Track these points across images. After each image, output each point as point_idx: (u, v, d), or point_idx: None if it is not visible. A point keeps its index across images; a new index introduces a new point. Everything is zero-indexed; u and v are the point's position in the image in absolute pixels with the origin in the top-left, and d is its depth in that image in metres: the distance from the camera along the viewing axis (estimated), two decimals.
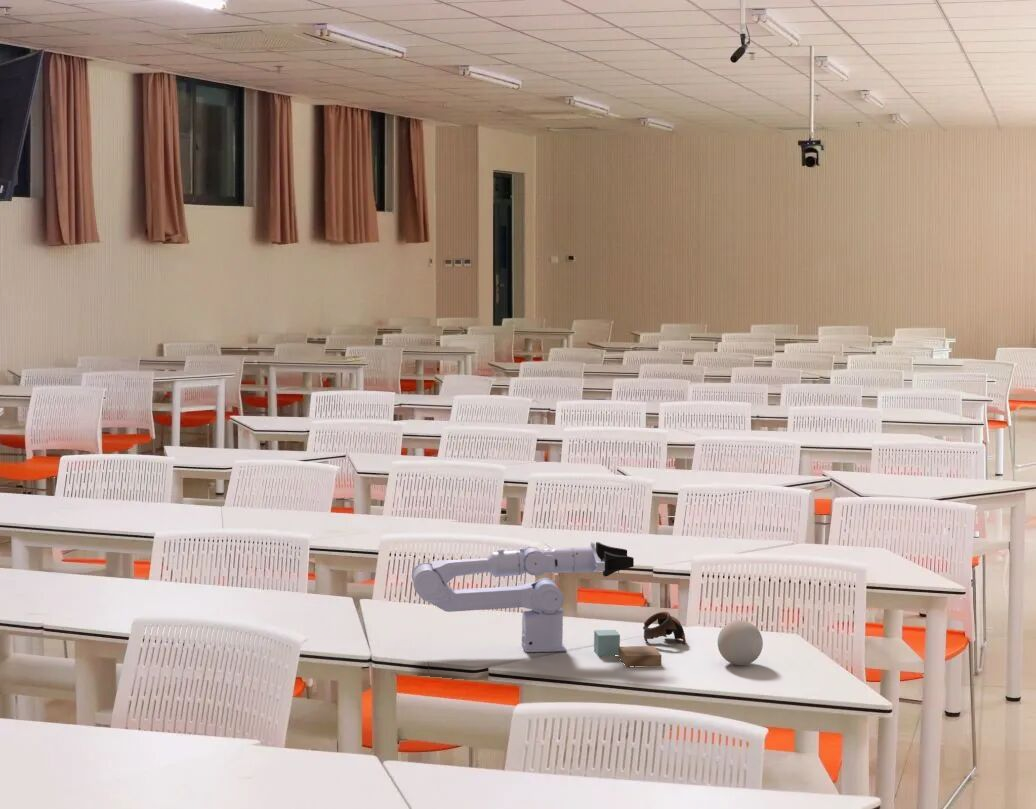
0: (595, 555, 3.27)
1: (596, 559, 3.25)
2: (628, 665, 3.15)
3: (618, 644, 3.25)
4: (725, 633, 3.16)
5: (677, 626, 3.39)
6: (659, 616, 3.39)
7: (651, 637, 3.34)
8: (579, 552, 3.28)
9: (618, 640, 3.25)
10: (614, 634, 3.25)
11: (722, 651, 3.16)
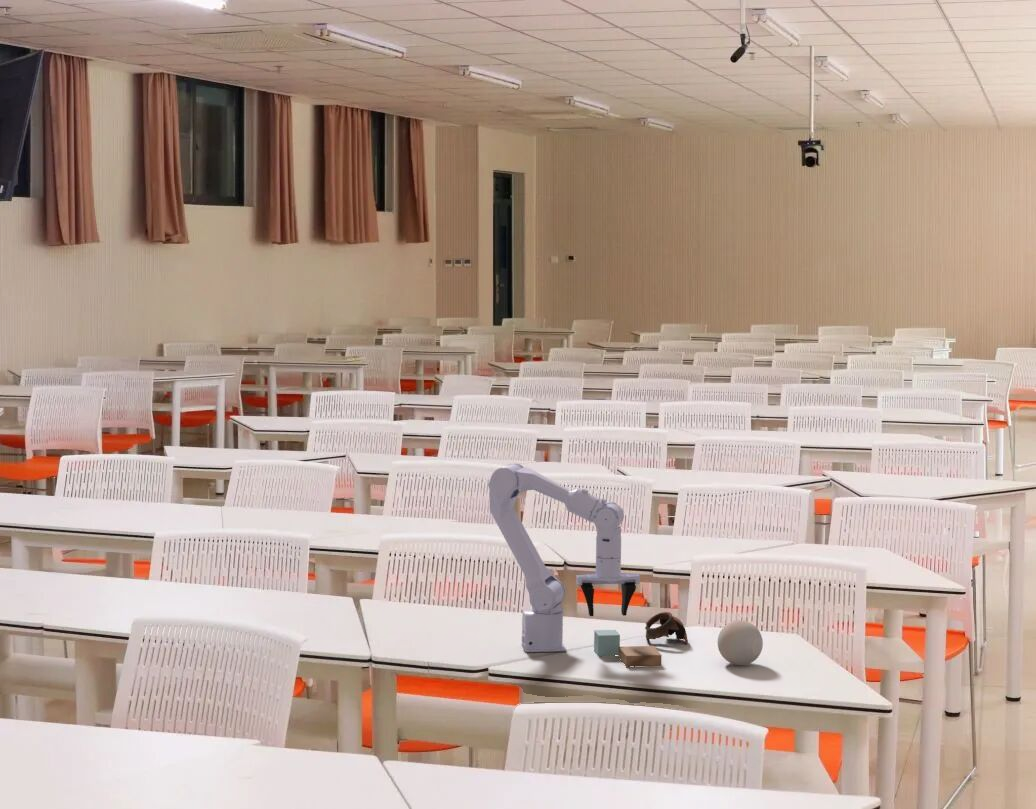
0: (593, 578, 3.23)
1: (586, 578, 3.24)
2: (628, 665, 3.15)
3: (618, 644, 3.25)
4: (725, 633, 3.16)
5: (679, 626, 3.39)
6: (661, 616, 3.39)
7: (653, 637, 3.34)
8: (602, 564, 3.23)
9: (618, 640, 3.25)
10: (614, 634, 3.25)
11: (722, 651, 3.16)
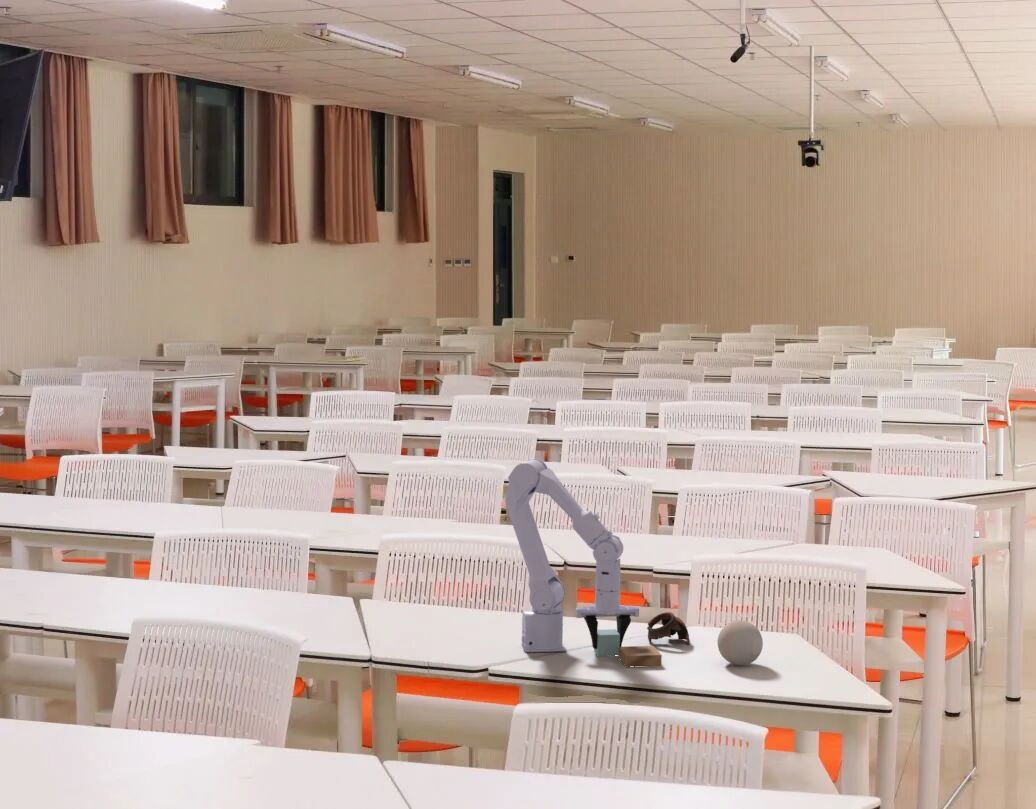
0: (592, 611, 3.24)
1: (585, 611, 3.24)
2: (628, 665, 3.15)
3: (618, 644, 3.25)
4: (725, 633, 3.16)
5: (681, 626, 3.39)
6: (663, 616, 3.39)
7: (655, 637, 3.34)
8: (601, 597, 3.23)
9: (618, 640, 3.25)
10: (614, 634, 3.25)
11: (722, 651, 3.16)
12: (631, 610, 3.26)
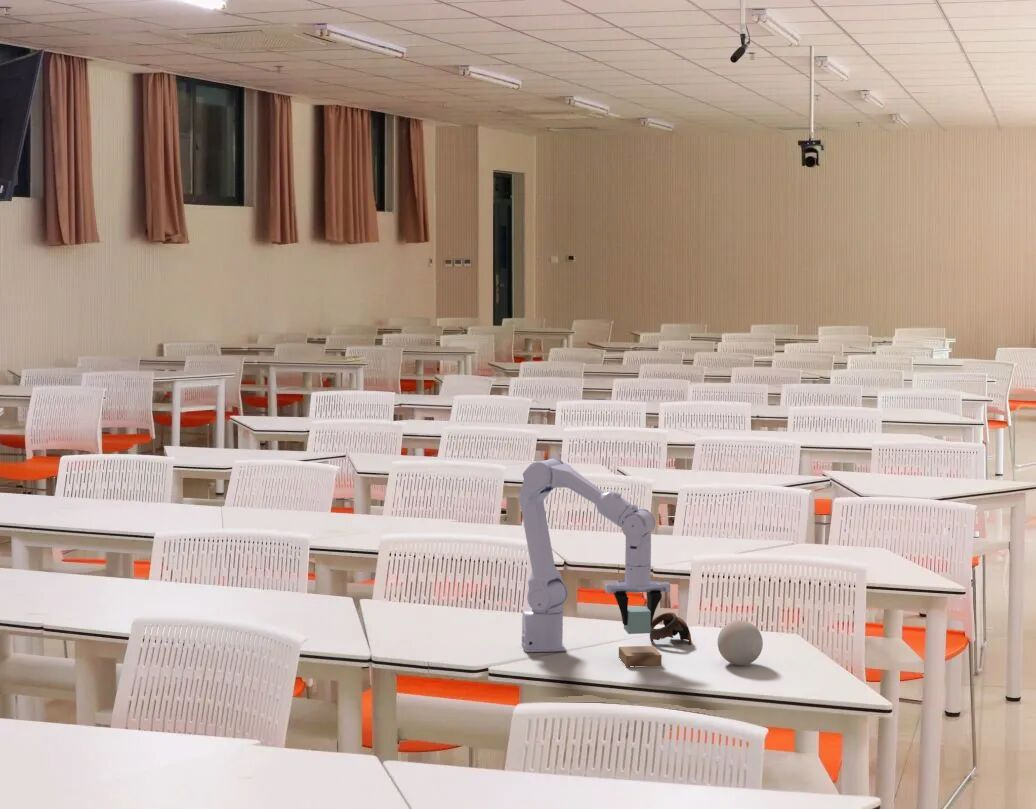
0: (622, 587, 3.17)
1: (615, 586, 3.17)
2: (628, 665, 3.15)
3: (649, 620, 3.18)
4: (725, 633, 3.16)
5: (683, 627, 3.39)
6: (665, 617, 3.39)
7: (657, 638, 3.34)
8: (632, 572, 3.17)
9: (649, 616, 3.18)
10: (645, 610, 3.18)
11: (722, 651, 3.16)
12: (662, 585, 3.19)
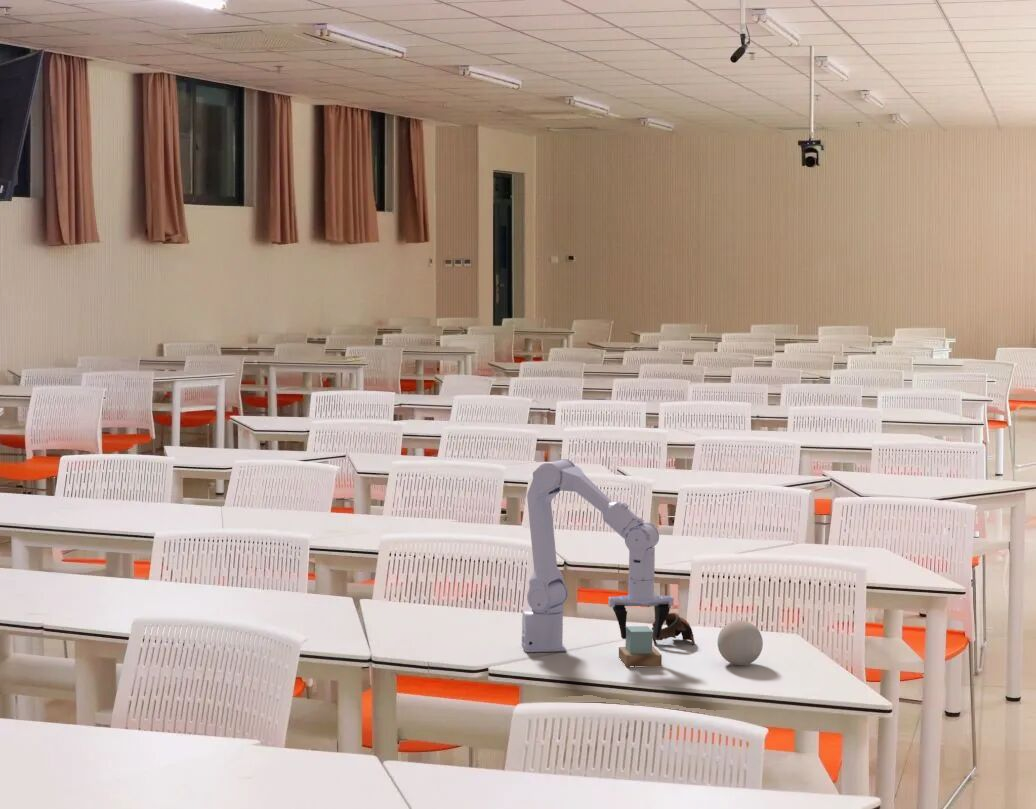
0: (626, 600, 3.16)
1: (618, 600, 3.17)
2: (628, 665, 3.15)
3: (651, 641, 3.17)
4: (725, 633, 3.16)
5: (685, 627, 3.38)
6: (667, 617, 3.38)
7: (660, 638, 3.33)
8: (635, 586, 3.16)
9: (651, 637, 3.17)
10: (647, 630, 3.18)
11: (722, 651, 3.16)
12: (665, 599, 3.18)
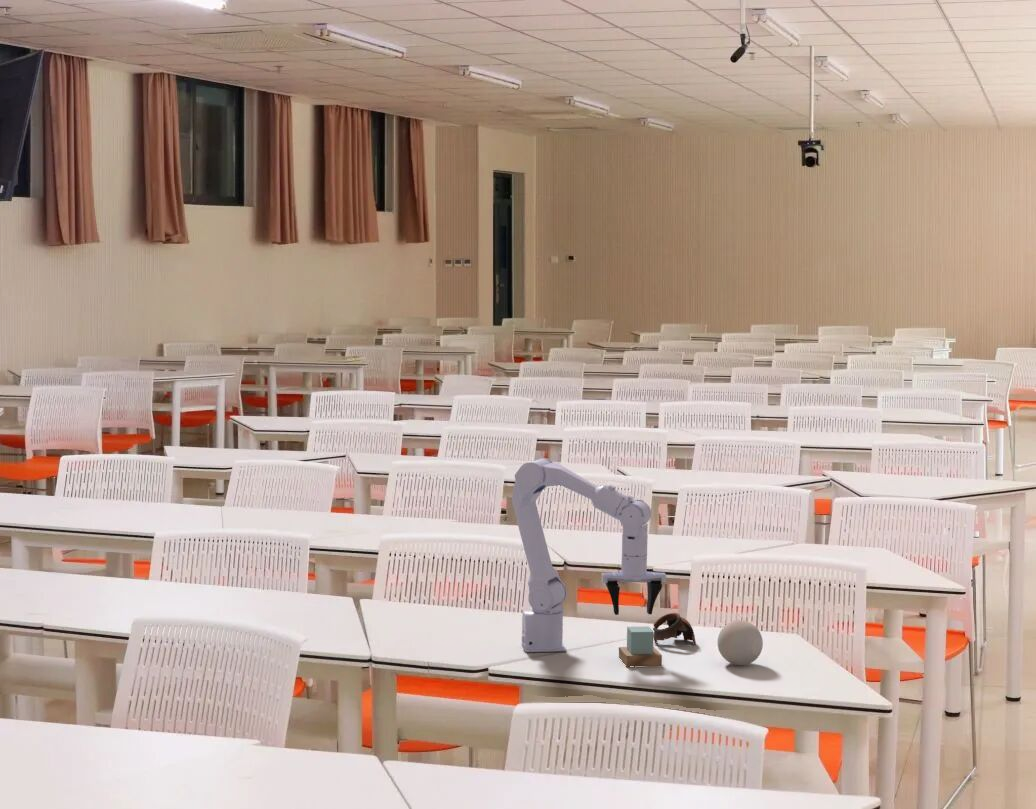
0: (618, 576, 3.19)
1: (611, 576, 3.20)
2: (628, 665, 3.15)
3: (652, 641, 3.17)
4: (725, 633, 3.16)
5: (687, 627, 3.38)
6: (669, 617, 3.38)
7: (661, 638, 3.33)
8: (628, 562, 3.19)
9: (652, 637, 3.17)
10: (647, 631, 3.18)
11: (722, 651, 3.16)
12: (658, 576, 3.21)
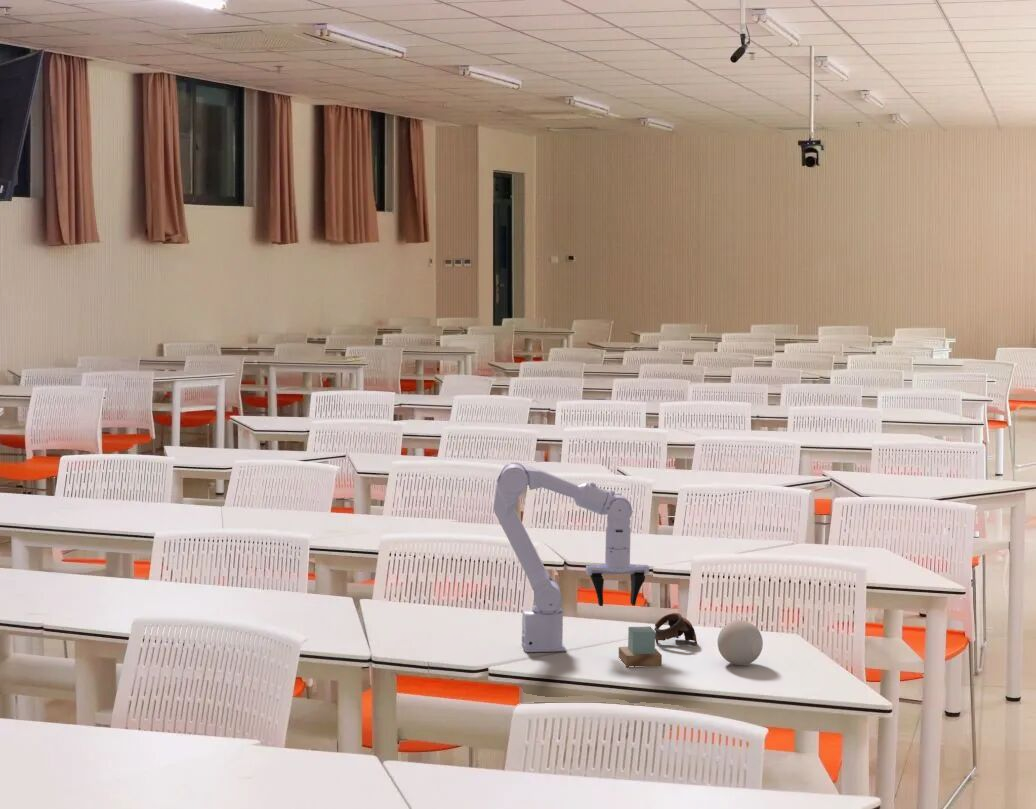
0: (602, 569, 3.27)
1: (595, 568, 3.28)
2: (628, 665, 3.15)
3: (653, 641, 3.17)
4: (725, 633, 3.16)
5: (688, 627, 3.38)
6: (670, 617, 3.38)
7: (663, 638, 3.33)
8: (611, 555, 3.27)
9: (653, 637, 3.17)
10: (649, 631, 3.18)
11: (722, 651, 3.16)
12: (641, 568, 3.29)
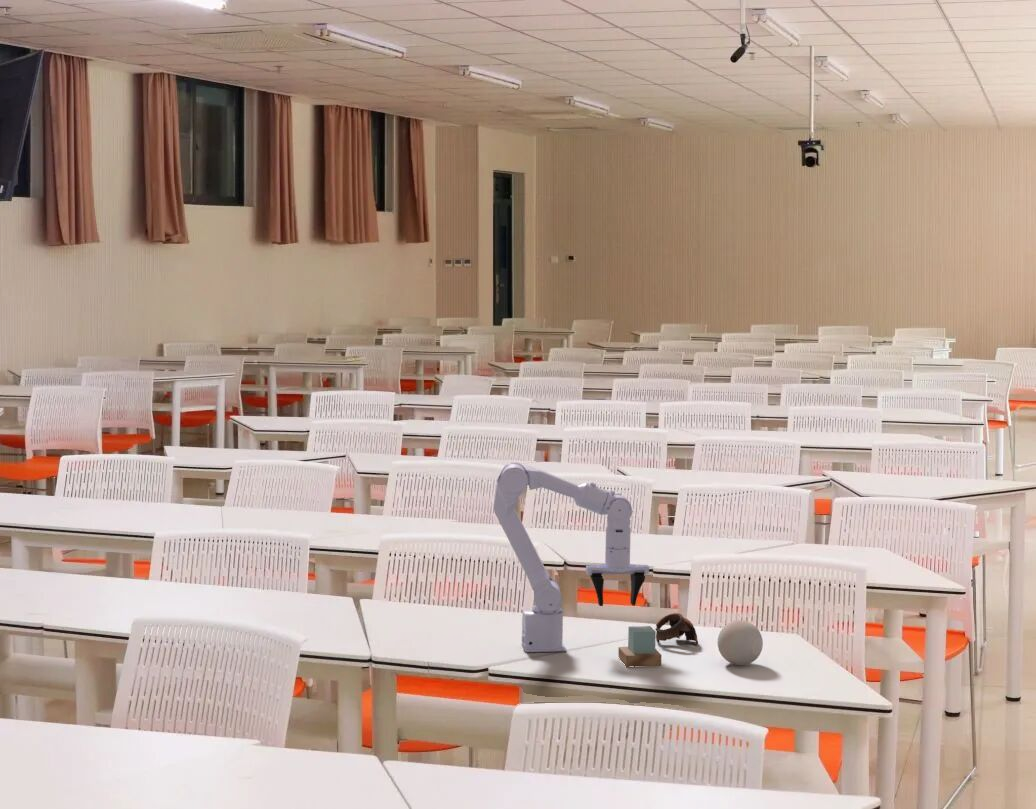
0: (602, 569, 3.27)
1: (595, 568, 3.28)
2: (628, 665, 3.15)
3: (654, 640, 3.18)
4: (725, 633, 3.16)
5: (689, 627, 3.38)
6: (671, 617, 3.38)
7: (664, 639, 3.33)
8: (611, 555, 3.27)
9: (654, 636, 3.18)
10: (649, 630, 3.18)
11: (722, 651, 3.16)
12: (641, 568, 3.29)
